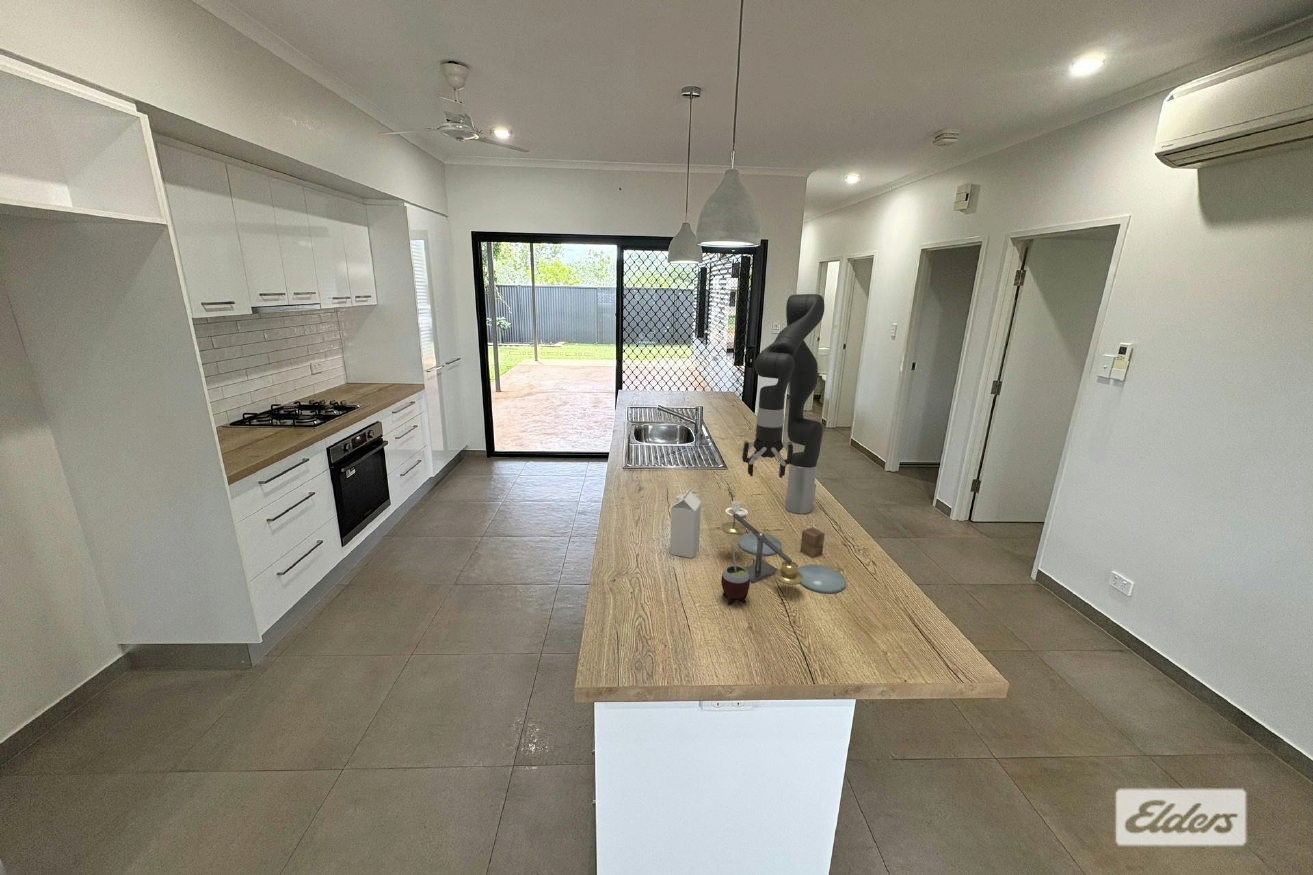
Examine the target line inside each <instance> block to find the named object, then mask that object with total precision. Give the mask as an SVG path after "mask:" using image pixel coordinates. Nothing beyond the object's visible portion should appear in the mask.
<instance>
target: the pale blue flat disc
mask: <svg viewBox="0 0 1313 875" xmlns="http://www.w3.org/2000/svg"><path fill="white" fill-rule="evenodd" d="M764 534H765V537H766V538H767V539H768V540H769V541H770V542H772V543H773V544H774V545H775V546H776V547H778V548H779V549H780V550H781V551H782V542H781V541H780V540H779V539H778V537H775V536H774V535H770V534H768V533H767V534H766V533H764ZM757 541H758V540H757V538H756V536H755V535H754V534H753V533H752V532H749V533H743V534H741V535H740V537H739V538H738V541H737V542H738V543H737V544H738V547H739V548H740V549H741V550H742V551H744V552H745V553H748V554H751V555H755V556H756V552H757ZM773 555H774V556H775V555H777V554H776V553H775V552H774V551H773V550H772V549H771V548H769V547H768V546H767V545H766V544H765V543H763V553H762V557H769V556H773Z"/></svg>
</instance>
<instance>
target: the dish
mask: <svg viewBox="0 0 1313 875" xmlns="http://www.w3.org/2000/svg"><path fill="white" fill-rule="evenodd" d="M798 572H800V573H801V574H802V576H803V581H802V582H801V583H800V584H799V585H800V586H802V587H803V588H805V589H807V590H808V591H811V592H815V593H819V594H820V593H821V594H828V595H829V594H837V593H840V592H842V591H843V590H845V587H846V582H847V581H846V580H847V579H846V578H845V576H844V575H843V574H842V573H841V572H839V571H838V570H836V569H835V568H832V567H829V566H826V565H821V564H815V563H814V564H805V565H802V566H798Z"/></svg>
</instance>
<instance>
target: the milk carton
mask: <svg viewBox="0 0 1313 875" xmlns="http://www.w3.org/2000/svg"><path fill="white" fill-rule="evenodd" d="M675 499H676V501H675V502H674V504H673V505H672V506H671V508H670V509H671V510H670V511H671V512H670V515H671V516H670V536H669V537H670V538H669V541H670V542H669V554H670V555H674V556H679V557H684V558H689V559H694V557H695V556H696V554H697V552H698V550H699V548H700V535H701V514H702V513H701V512H702V501H701V500H700V499H699V498H698V497H697V496H696V495H695V494H694V492H692V491H691V487H689V488H688V489H687V491H686V492H685V493H684V494H682V493H680V494H678V495H677V496H676V497H675Z"/></svg>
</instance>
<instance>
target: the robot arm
mask: <svg viewBox="0 0 1313 875" xmlns="http://www.w3.org/2000/svg"><path fill="white" fill-rule="evenodd" d="M825 306H826V304H825V300H824V297H823V296H822V295H821V294H816V293H805V294H803V293H801V294H798V293H797V294H791V295H789V296H788V299H787V302H786V306H785V307H786V309H785V315H786V327H784V328H782V329H781V331H780V332H779V333H778V334H777V336H776V338H775V339H774V341H773V342H772V343H771V344H770V345H768V346H767V347H765V348H764V349H763V350H762V351H761V352H760V353H758V355H757V356H756V359H755V360H754V369H755V370H754V371H755V373H756V374H757V375H758V376H759V377H761V378H769V379H776V380H777V382H776V384H774V385H773V384H772V385H765V386H762V387H761V388H760V390H759V397H758V398H759V399H758V409H757V414H756V425H755V426H756V427H755V428H756V429H755V439H754V442H753V441H748V440H745V441H744V442H743V448H742V456H741V459H742V462H743V463H747V474H748V475H749V476H750V477H753V475H754V463H755V462H756V461H757V460H758V459H759V458H760V457H761V458H771V459H773V458H774V457H775V458H776V459H777V460H778V462H779V469H778V477H779V478H781V479H782V478H783V477H784V476H785V474H786V466H787V465H789V466H788V476H787V484H786V485H787V487H786V494H785V495H786V496H785V505H784V507H785V509H786V511H789V512H791V513H793V514H800V515H802V514H804V515H805V514H809V513H811V512H812V510H813V509H814V506H815V497H816V488H817V485H816V482H815V481H816V474H817V465H818V460H819V457H820V452H821V447H822V441H823V435H824V434H823V432H824V428H823V425H822V423H821V422H820V421H818V420H815V419H814V420H813V419H809V418H805V417H804V411H805V410H804V409H805V408H804V407H805V405H806V402H807V401H808V399H809V398H810V396H811V394H813V392H814V390H815V389H816V387H817V384H818V377H819V374H818V368H819V367H818V362H817V359H816V357H815V355H814V353H813V352H812V351H811V349H810V348H809V346H808V345H807V343H806V342H805V339H806V338H807V337H808V336H809V335H810V334H811V333H812V331H814V329H815V328H817V326H818V325H819V324H820V322H821V321H822V320H823V318H824V314H825ZM788 386H789V387H788ZM787 389H789V390H788V391H789V395H788V397H789V399H788V400H789V402H788V404H789V405H788V416H787V438H788V440H789V442H788V441H787V442H788V443H786V442H784V443H783V431H784V423H785V398H786V392H787ZM793 444H797V445H799V446H800V445H801V446H804V447H803V448H804V449H803V451H798V452H797V451H796V452H794V445H793ZM752 447H753V448H754V450H755V451H754V452H753V453H752V454H751V456H750V457H748V455H749V450H751V449H752ZM783 448H784V450H785V452H787V453H786V454H787V455H786V458H785V459H784V458H783V456H782V455H781V453H780V452H781V451H782V450H783Z"/></svg>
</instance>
